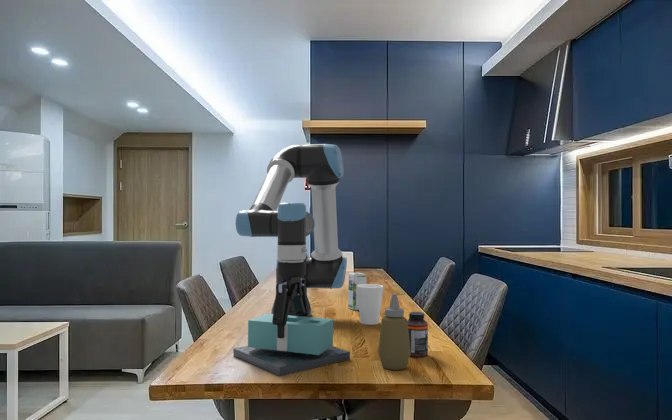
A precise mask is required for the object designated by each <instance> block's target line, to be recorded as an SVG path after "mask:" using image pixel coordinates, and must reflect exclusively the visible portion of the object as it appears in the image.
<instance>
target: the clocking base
mask: <svg viewBox="0 0 672 420" xmlns="http://www.w3.org/2000/svg"><path fill="white" fill-rule="evenodd" d="M232 352H233V354H232V355H233V357H235V358H237V359H239V360H242V361H244V362H246V363H249V364H251V365H252V366H256V367H258V368H260V369H262V370H265V371H267V372H269V373H270V374H271V373H272V374H274V375H276V376H278V377H281V376H286V375H289V374H294V373H299V372H303V371H306V370H310V369H311V370H312V369H315V368H319V367H323V366H327V364H328V365H331V363H332V364H336V363H335V362H337V363H339V362H340V361H341V362H344V361H350V360H351V351H349V350H346V349H343V348H339V347H336V346H334V345H333V346H331V347H330V348H328V349H327V350H326V351H324V352H323V353H321V354H320V355H314V354H305V353H296V352H287V351H278V350H269V349H260V348H251V347H248V345H245V346H241V347H234V348H233V351H232ZM341 362H340V363H341Z"/></svg>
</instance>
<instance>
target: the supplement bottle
mask: <svg viewBox="0 0 672 420" xmlns="http://www.w3.org/2000/svg"><path fill="white" fill-rule="evenodd" d="M408 315H409V316H408V319H407V321H408V331H409V341H410V352H411V353H410V357H414V358H424V357H425V356H426V357H427V356H428V354H429V353H428V352H429V335H428V334H429V333H428V332H429V324H428V321H426V320H425V313H424V312H422V311H410V312H409V313H408Z"/></svg>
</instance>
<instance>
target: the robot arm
mask: <svg viewBox="0 0 672 420" xmlns="http://www.w3.org/2000/svg"><path fill="white" fill-rule="evenodd" d="M344 171H345V170H344V161H343V155H342V151H341V149H340V147H339V146H338V145H337V144H330V143H318V144H317V143H315V144H314V143H313V144H311V143H310V144H293V145H289V146H287V147H285V148H283V149H282V150H281V151H279V152H277V153H276V154H275V155H274V156H273V157H272V158H271V159H270V161H269V163H268V165H267V167H266V173H267V174H266V176H265V178H264V180H263V182H262V183H261V185H260V188H259V189H258V191H257V194H256V196H255V199H254V200H253V202H252V204H251V206H250V208H249V210H247V209H245V210H240V211H238V212H237V213H236V216H235V230H236V232H237V234H238V236H241V237H250V238H258V237H259V238H261V237H263V238H265V237H266V238H267V237H269V238H274V237H275V238H277V254H276V255H277V257H276V266H275V267H276V268H275V270H276V271H275V272H276V273H275V281H276V282H275V297H274V301H273V304H272V308H271V313H270V314H273V320H272V323H273V324H274V325H277V350H279V351H288V325H286V322H287V318H288V315H290V316H302V317H312V307H311V304H310V301H309V298H308V289H326V290H327V289H330V290H332V289H341V288H342V287H344V283H345V281H346V273H347V265H348V259H347V257H345V256H343V252H342V250H341V249H340V248H339V240H338V218H337V217H338V216H337V198H336V197H337V194H336V188H337V185H338V184H339V183H340V179H341V178H343V177H344ZM298 178H299V179H300V178H303V179H305V180H306V184H307V186H309V187H310V189H311V206H312V213H310V212H309V211H307V205H306V204H305V203H304V202H281V201H282V198H283V196H284V194H285V191H286V188H287V186H288V184H289V183H291V182H292V181H293V179H298ZM312 233H313V239H314V250H313V251H312V252H311V254H310V256H309V255H308V253H307V252H308V249H307V237H308V236H309V235H311V234H312Z"/></svg>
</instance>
